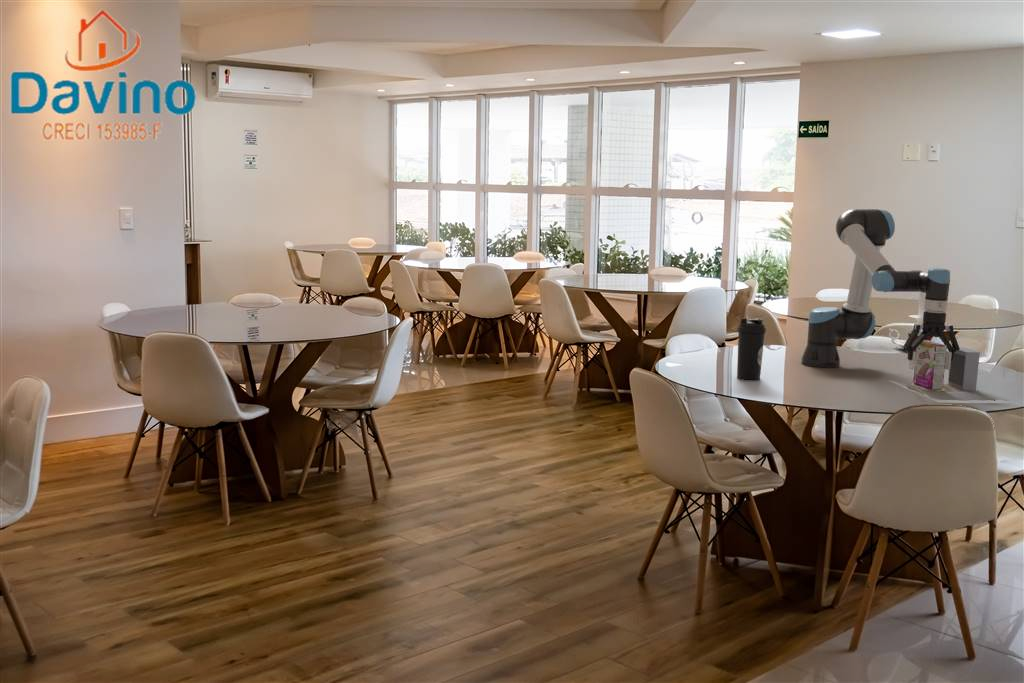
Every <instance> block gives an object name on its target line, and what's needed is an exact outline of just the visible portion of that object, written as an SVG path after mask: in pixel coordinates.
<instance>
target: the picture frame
mask: <svg viewBox="0 0 1024 683" xmlns="http://www.w3.org/2000/svg"><path fill="white" fill-rule="evenodd" d="M907 385H909V386H911V387H909V386H907ZM907 385H906V387H907V388H910V389H911V390H914V391H916V392H918V393H920V394H922V395H923V394H925V393H924V392H980V391H979V390H977V389H976V390H960V389H958V388H955V387H953V386H950V385H948V383H943V389H941V390H931V389H928V388H925V387H922V386H919V385H916V384H913V383H907ZM912 387H913V388H912ZM915 388H916V389H915ZM919 390H920V391H919Z"/></svg>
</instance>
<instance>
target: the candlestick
mask: <svg viewBox="0 0 1024 683" xmlns="http://www.w3.org/2000/svg"><path fill="white" fill-rule="evenodd" d="M918 293H919V295H918V312H917V313H918V314H913V315H912V314H911V315H910V314H909V315H908V317H909V318H911V319H914V320H916V324H918V325H923V315H924V311H926V310H925V309H924V305H925V296H926V293H924V292H918ZM888 330H889V333H888V337H889V338H890V339H891V342H892V344H894V345H898V346H900V347H901V348H903V346H904V344H905V343H906V341H907V340H906V339H904V340H903V339H902V340H897V339H898V338H899V337H900V332H899V331H898V330H897V329H892V328H888ZM922 331H923V330H922V329H921V330H920V332H922ZM892 332H896V337H893V336H892ZM903 349H904V348H903Z"/></svg>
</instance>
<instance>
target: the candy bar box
mask: <svg viewBox="0 0 1024 683" xmlns="http://www.w3.org/2000/svg"><path fill="white" fill-rule="evenodd" d="M947 350H948V349H947V345H944V343H940V342H935V341H933V340H931V341H929V340H924V341H923V342H922V343H921V344H920V345H919V346H918V347H917V348H916V358H915V367H914V370H913V371H914V372H913V384H916V385H919V386H922V387H925V388H928V389H931V390H941V389H943V384H944V382H945V381H944V380H945V372H946V371H945V370H946V369H945V360H946V351H947Z"/></svg>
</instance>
